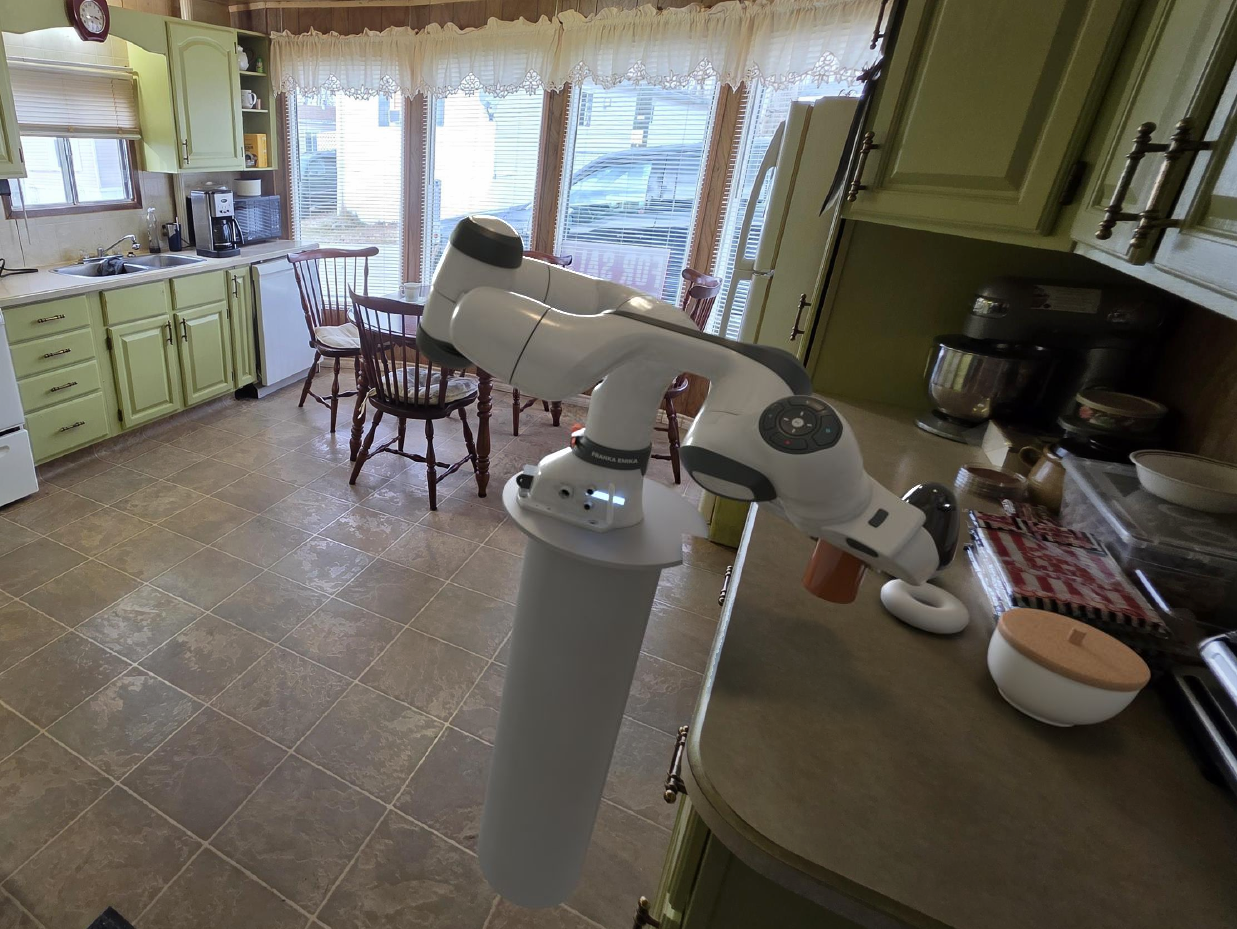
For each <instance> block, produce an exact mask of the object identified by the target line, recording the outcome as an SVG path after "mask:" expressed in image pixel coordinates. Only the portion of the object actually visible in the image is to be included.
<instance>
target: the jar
mask: <svg viewBox="0 0 1237 929" xmlns="http://www.w3.org/2000/svg"><path fill="white" fill-rule="evenodd" d="M815 542H816V541H815ZM868 570H869V569H868V568H866V567H865V565H864V561H863V560H861V559H859V558H857V557H855V556H853V555H851V554H849V553H847V552H845V551H844V550H842V549H840V548H838V547H836V546H834V545H832V544H830V543H828V542H826V541H824V540H822V539H820V538H818V540H817V542H816V543H815V545H814V548H813V551H812V553H811V556H810V558H809V561H808V564H807V567H806V569H805V572H804V575H803V577H802V580H801V582H802V586H803V587H804V588H805V589H806V590H807V591H808V592H809V593H810V594H812V595H813V596H815V597H816V598H819V599H821V600H823V601H826V602H830V603H834V604H838V605H848V604H852V603H854V602H855V600H856V598H857V595H858V593H859V591H860V589H861V587H862V584H863V582H864V579H865V577H866V574H867V572H868Z"/></svg>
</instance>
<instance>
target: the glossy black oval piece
mask: <svg viewBox="0 0 1237 929" xmlns="http://www.w3.org/2000/svg"><path fill="white" fill-rule="evenodd" d="M900 498H901V499H903V500H905V501H906V502H908V503H910V504H911V505H913V506H915V507H916V508H918V509H920V510H921V511H922V512H923V513H924V514H925V516H926V520H925V522H924V524H923V525H922V527H923V528H924V529H926V530H927V531H928V533H929V534H930V535H931V537H932V538H933V540H934V543H935V546H936V549H937V552H938V556H939V565H938V567H937V569H936V570H935V572H934V573H933V574H932V576H931V577H930V578H929V579H928V580H927V581H929V580H933V579H934V578H937V577H939V576H940V575H942V574H943V572H945V571H946V570H948V569H949V568H951V566H952V565H953V563H954V560H955V557H956V553H957V549H958V544H959V538H960V530H961V529H960V527H961V512H960V505H959V501H958V499H957V496H956V494H955V492H954V491H953V490H952V489H951V488H950V487H949V486H946V485H945V484H943V483H940V482H934V481H927V482H921V483H918V484H917V485H915V486H913V487H911V488H910V489H908V490H907V491H906V492H904V493H903V494H902V495H901V496H900Z"/></svg>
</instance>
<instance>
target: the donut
mask: <svg viewBox="0 0 1237 929" xmlns="http://www.w3.org/2000/svg"><path fill="white" fill-rule="evenodd" d="M880 599H881V602H882V604H883V606H884V607H885V608H886V609H887V611H889V613H891V615H893V616H895V617H896V618H897V619H899V620H900V621H902V622H903V623H906V624H908V625H910V626H912V627H914V628H917V629H920V630H922V631H925V632H929V633H934V634H940V635H941V634H943V635H948V634H949V635H950V634H955V633H956V634H957V633H959V632H961V631H963V630H964V629H965V628H966V627H967V626H968V625H969V623H970V613H969V611H968V610H969V609H968V608H967V607H966V606H965V605H964V603H963V602H962V601H961V600H960V599H959V598H957V597H956V596H955V595H953V594H952V593H950V592H949V591H946V590H945V589H943V588H941V587H939V586H937V585H934V584H931V583H928V582H925V583H924V584H923V585H922V586H912V585H910V584H908V583H906V582H904V581H902V580H900V579H898V578H896V579H892V580H890V581H887V583H885V584H884V585H882V587H881V591H880Z"/></svg>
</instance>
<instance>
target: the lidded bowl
mask: <svg viewBox="0 0 1237 929" xmlns="http://www.w3.org/2000/svg"><path fill="white" fill-rule="evenodd" d="M986 657H987V658H986V659H987V667H988V670H989V674H990V676H991V678H992V679H993V681H994V683H995V684H996V686H997V690H998V692H999V694H1000V695H1001V697H1002V698H1003V699H1004V700H1005V701H1006V702H1008V704H1010V705H1011V707H1013V708H1015V709H1017V710H1018V711H1019V712H1021V713H1023V714H1025V715H1027V716H1028V717H1031V718H1032V719H1035V720H1037V721H1040V722H1043V723H1044V724H1048V725H1051V726H1057V727H1063V728H1069V727H1073V726H1085V725H1087V726H1088V725H1094V724H1099V723H1102V722H1105V721H1107V720H1110V719H1112V718H1114V717H1116V716H1117V715H1118V714H1119V713H1121V712H1122V711H1123V710H1125V708H1127V707H1128V706H1129V705H1130V704H1131V703H1132V702H1133V700H1134V699H1135V698H1136V697H1137V695H1138V694H1139V692H1140V691H1141V690H1142V689H1144V688H1145V687H1146V685H1147V684H1148V683H1149V681H1150V679H1151V670H1150V668H1149V667H1148V664H1147V663H1146V662H1145V661H1144V659H1143V658H1142V657H1141V656H1140V655H1138V654H1137V653H1136V652H1135V651H1134V650H1133V649H1132V648H1130V647H1129V646H1128V645H1126V644H1124V643H1123V642H1121V641H1120V640H1118V639H1117V638H1115V637H1114V636H1112V635H1109V634H1108V633H1106V632H1104V631H1102V630H1101V629H1098V628H1095V627H1093V626H1092V625H1089V624H1086V623H1084V622H1081V621H1079V620H1077V619H1074V618H1071V617H1068V616H1065V615H1062V614H1059V613H1055V612H1051V611H1048V610H1043V609H1037V608H1029V607H1015V608H1010V609H1007V610H1005V611H1003V612H1002V613H1001V614H1000V616H999V618H998V619H997V624H996V627H995V629H994V631H993V633H992V635H991V638H990V641H989V644H988V648H987V656H986Z"/></svg>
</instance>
